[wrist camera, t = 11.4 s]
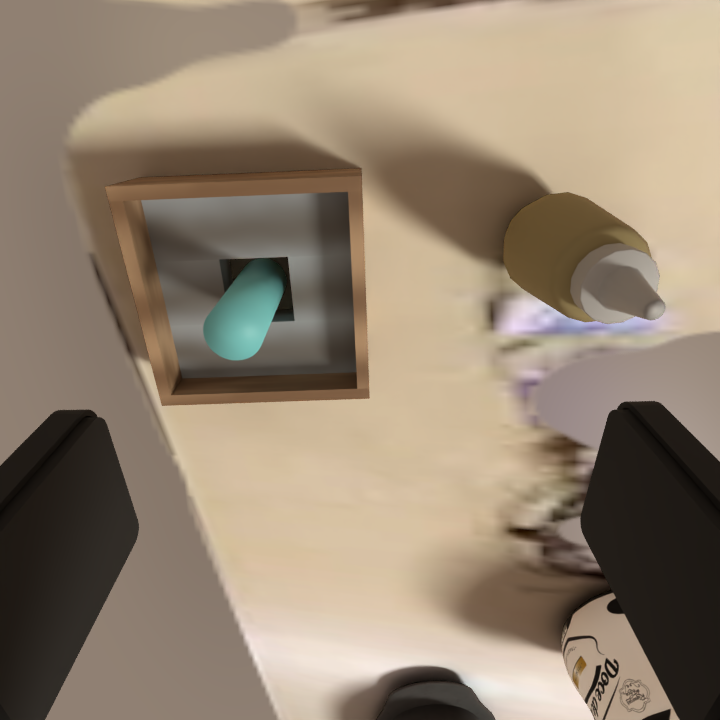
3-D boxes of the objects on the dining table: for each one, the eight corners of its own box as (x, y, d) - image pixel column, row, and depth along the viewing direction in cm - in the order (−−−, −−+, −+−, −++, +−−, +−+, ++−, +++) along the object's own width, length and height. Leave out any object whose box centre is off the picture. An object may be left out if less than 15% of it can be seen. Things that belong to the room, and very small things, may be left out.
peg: (238, 258, 42) (197, 306, 31) (284, 257, 42) (259, 304, 31) (245, 302, 44) (208, 361, 33) (288, 300, 44) (266, 359, 33)
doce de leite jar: (529, 610, 63) (587, 778, 47) (656, 553, 58) (769, 718, 42) (586, 673, 69) (655, 841, 53) (705, 626, 65) (820, 794, 48)
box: (139, 177, 39) (104, 186, 34) (361, 168, 39) (361, 176, 33) (184, 373, 47) (162, 405, 42) (368, 366, 47) (369, 398, 41)
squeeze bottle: (482, 277, 43) (557, 372, 27) (502, 182, 39) (601, 225, 23) (571, 284, 43) (698, 382, 27) (598, 190, 40) (763, 238, 24)
